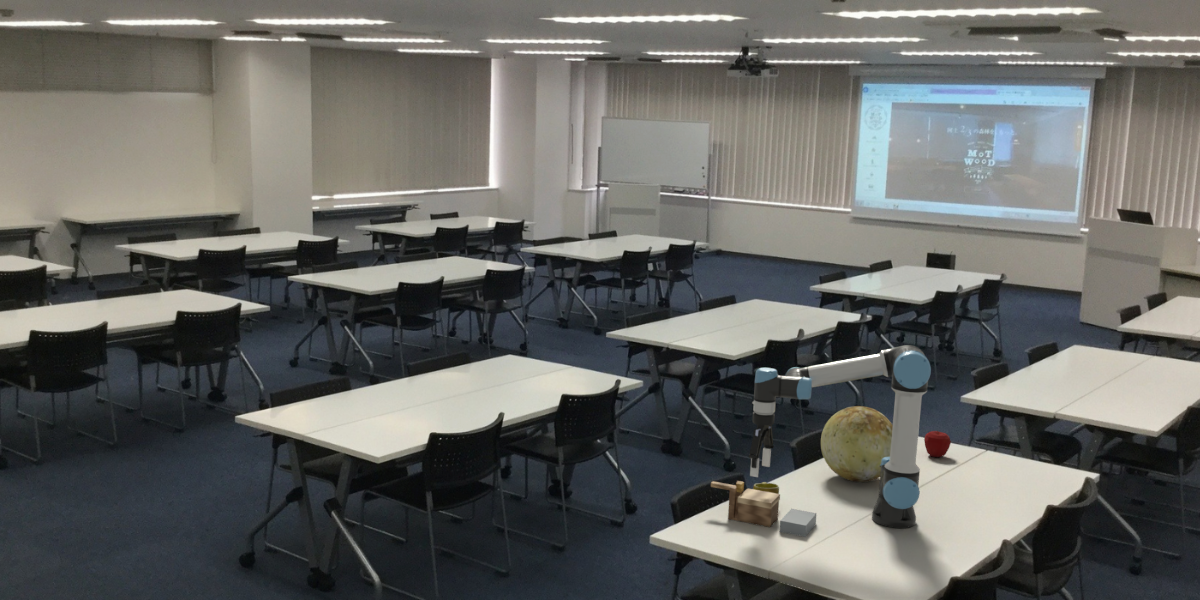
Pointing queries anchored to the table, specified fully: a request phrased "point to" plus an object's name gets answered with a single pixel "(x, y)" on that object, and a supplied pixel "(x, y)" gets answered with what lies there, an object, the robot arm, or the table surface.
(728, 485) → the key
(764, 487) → the mug
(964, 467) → the table surface
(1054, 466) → the table surface
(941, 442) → the apple
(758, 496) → the lid
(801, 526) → the block
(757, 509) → the toolbox
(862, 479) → the speckled ball
